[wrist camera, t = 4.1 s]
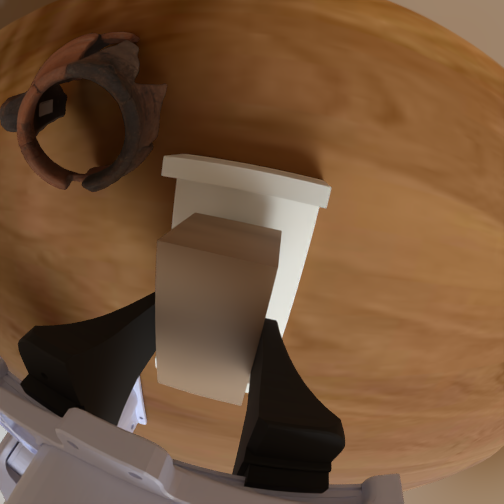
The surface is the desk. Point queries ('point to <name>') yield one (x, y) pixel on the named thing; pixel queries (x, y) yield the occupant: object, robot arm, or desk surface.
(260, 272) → the tan rectangular block
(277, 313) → the peg stand
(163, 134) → the desk surface
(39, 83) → the pottery mug
